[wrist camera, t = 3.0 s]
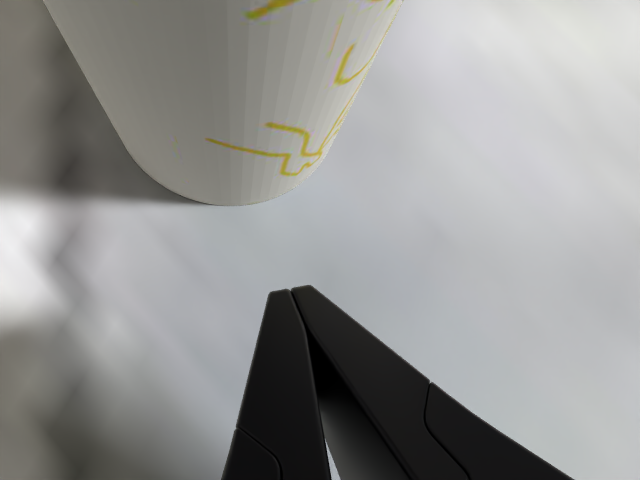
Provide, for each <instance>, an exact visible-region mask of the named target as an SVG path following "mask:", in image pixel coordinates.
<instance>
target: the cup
mask: <svg viewBox="0 0 640 480" xmlns="http://www.w3.org/2000/svg"><path fill="white" fill-rule="evenodd" d="M42 1H43V2H44V4H45V6H46V8H47V9H48V11H49V13H50V15H51V17H52V18H53V20H54V22H55V24H56V25H57V27H58V29H59V31H60V33H61V34H62V36H63V38H64V40H65V41H66V43H67V45H68V47H69V48H70V50H71V52H72V54H73V56H74V57H75V59H76V61H77V63H78V64H79V66H80V68H81V70H82V72H83V73H84V75H85V77H86V79H87V80H88V82H89V84H90V86H91V88H92V89H93V91H94V93H95V95H96V96H97V98H98V100H99V102H100V103H101V105H102V107H103V109H104V111H105V112H106V114H107V116H108V118H109V119H110V121H111V123H112V125H113V127H114V128H115V130H116V132H117V134H118V135H119V137H120V139H121V141H122V143H123V144H124V146H125V148H126V149H127V151H128V152H129V154H130V155H131V157H132V158H133V159H134V161H135V162H136V163H137V164H138V165H139V166H140V167H141V168H142V170H143V171H144V172H145V173H147V174H148V175H149V176H150V177H151V178H152V179H154V180H155V181H156V182H158V183H159V184H161V185H162V186H164V187H165V188H167V189H169V190H171V191H173V192H175V193H176V194H179V195H181V196H183V197H186V198H189V199H192V200H195V201H198V202H202V203H207V204H213V205H221V206H241V205H250V204H255V203H260V202H264V201H267V200H270V199H273V198H276V197H278V196H280V195H283V194H285V193H286V192H288V191H290V190H292V189H293V188H295V187H296V186H298V185H299V184H301V183H302V182H303V181H305V180H306V179H307V178H308V177H309V176H310V175H311V174H312V173H313V172H314V171H315V170H316V169H317V168H318V166H319V165H320V164H321V162H322V161H323V159H324V158H325V156H326V155H327V153H328V151H329V149H330V147H331V145H332V143H333V141H334V139H335V137H336V135H337V133H338V131H339V129H340V127H341V125H342V123H343V121H344V119H345V117H346V115H347V113H348V111H349V109H350V107H351V105H352V103H353V101H354V99H355V97H356V95H357V93H358V91H359V89H360V87H361V85H362V83H363V81H364V79H365V77H366V75H367V73H368V71H369V69H370V67H371V65H372V63H373V60H374V58H375V56H376V54H377V52H378V50H379V48H380V46H381V44H382V42H383V40H384V38H385V36H386V34H387V32H388V30H389V28H390V26H391V24H392V22H393V20H394V18H395V16H396V14H397V12H398V10H399V8H400V6H401V4H402V2H403V0H42Z"/></svg>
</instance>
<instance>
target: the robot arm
mask: <svg viewBox="0 0 640 480" xmlns="http://www.w3.org/2000/svg"><path fill="white" fill-rule="evenodd" d="M325 439H326V442H327V445H328V447H329V450H330V452H331V455H332V458H333V460H334V463H335V466H336V468H337V471H338V474H339V476H340V479H341V480H574V479H573V478H571V477H569V476H568V475H566V474H565V473H563V472H562V471H560V470H558V469H557V468H555V467H554V466H552V465H551V464H549V463H548V462H546V461H545V460H543V459H542V458H540V457H538V456H537V455H535V454H534V453H532V452H531V451H529V450H528V449H526V448H525V447H523V446H521V445H520V444H518V443H517V442H515V441H514V440H512V439H511V438H509V437H508V436H506V435H505V434H503V433H501V432H500V431H498V430H497V429H496V428H494V427H493V426H491V425H490V424H488V423H487V422H485V421H484V420H482V419H481V418H479V417H478V416H476V415H475V414H474V413H472V412H471V411H469V410H468V409H467V408H465V407H464V406H463V405H462V404H460V403H459V402H458V401H456V400H455V399H454V398H452V397H451V396H450V395H448V394H447V393H446V392H444V391H443V390H442V389H441V388H439V387H438V386H437V385H436V384H434V383H433V382H431V383H430V380H429V379H428V378H427V377H425V376H424V375H423V374H422V373H420V372H419V371H418V370H417V369H415V368H414V367H413V366H412V365H410V364H409V363H408V362H407V361H405V360H404V359H403V358H402V357H400V356H399V355H398V354H397V353H395V352H394V351H393V350H392V349H390V348H389V347H388V346H387V345H385V344H384V343H383V342H382V341H380V340H379V339H378V338H377V337H375V336H374V335H373V334H372V333H370V332H369V331H368V330H367V329H365V328H364V327H363V326H362V325H360V324H359V323H358V322H357V321H355V320H354V319H353V318H352V317H350V316H349V315H348V314H347V313H345V312H344V311H343V310H342V309H340V308H339V307H338V306H337V305H335V304H334V303H333V302H331V301H330V300H329V299H328V298H326V297H325V296H324V295H323V294H321V293H320V292H319V291H318V290H316V289H315V288H314V287H313V286H311V285H305V286H300V287H294V288H292V289H291V291H290V290H289V289H283V290H277V291H272V292H270V293H269V295H268V298H267V302H266V307H265V311H264V315H263V319H262V323H261V327H260V331H259V335H258V339H257V343H256V347H255V351H254V355H253V359H252V363H251V367H250V371H249V375H248V379H247V383H246V387H245V391H244V395H243V399H242V403H241V407H240V411H239V415H238V419H237V423H236V429H235V431H234V434H233V438H232V442H231V446H230V450H229V454H228V457H227V461H226V464H225V468H224V471H223V474H222V478H221V480H332V479H331V473H330V467H329V461H328V455H327V449H326V443H325Z"/></svg>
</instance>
